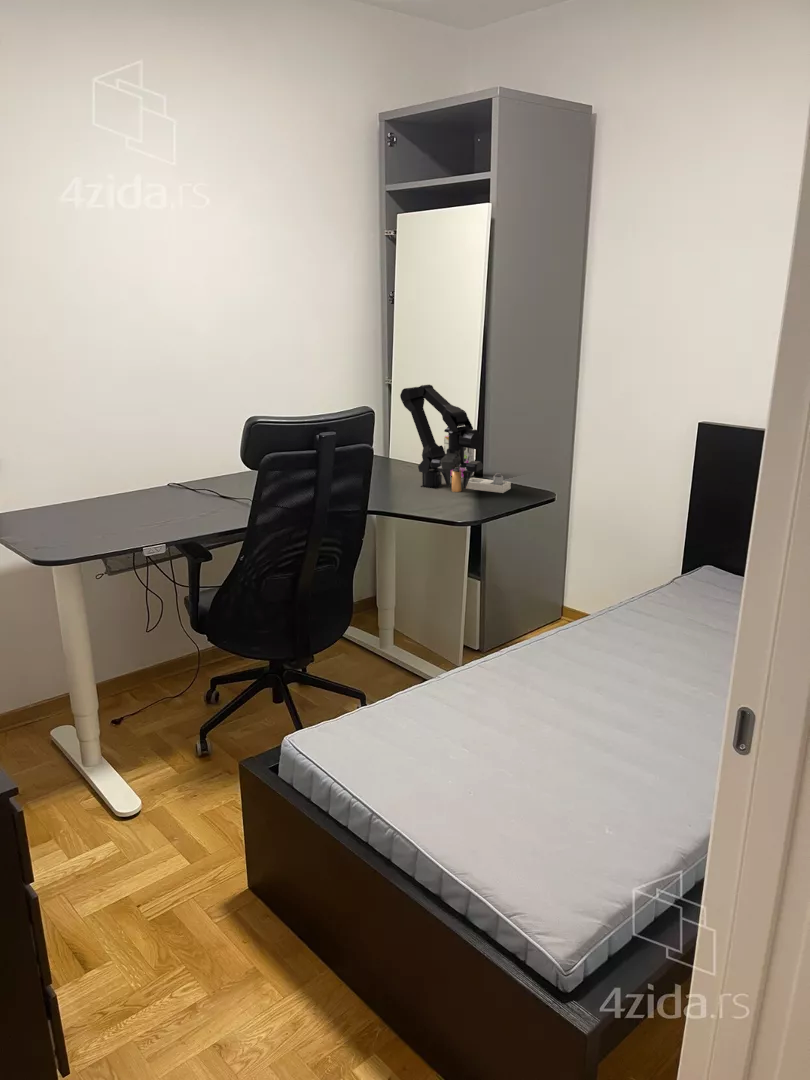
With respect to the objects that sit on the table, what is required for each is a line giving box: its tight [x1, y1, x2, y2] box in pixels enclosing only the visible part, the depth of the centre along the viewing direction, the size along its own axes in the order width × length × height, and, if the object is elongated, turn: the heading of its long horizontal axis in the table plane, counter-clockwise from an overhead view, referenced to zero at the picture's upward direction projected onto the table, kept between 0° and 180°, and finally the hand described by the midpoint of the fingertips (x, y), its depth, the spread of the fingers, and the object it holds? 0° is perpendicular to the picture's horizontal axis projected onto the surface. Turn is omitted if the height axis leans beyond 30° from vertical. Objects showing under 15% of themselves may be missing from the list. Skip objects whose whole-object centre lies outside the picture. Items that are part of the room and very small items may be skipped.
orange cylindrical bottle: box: [451, 467, 462, 493], centre depth 288 cm, size 4×4×9 cm
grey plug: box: [492, 472, 504, 485], centre depth 288 cm, size 4×4×6 cm
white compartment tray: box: [465, 477, 512, 494], centre depth 291 cm, size 16×7×4 cm, turn 59°
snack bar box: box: [443, 435, 475, 479], centre depth 311 cm, size 11×5×16 cm, turn 58°
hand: (456, 487), depth 289 cm, fingers open, 6 cm apart
